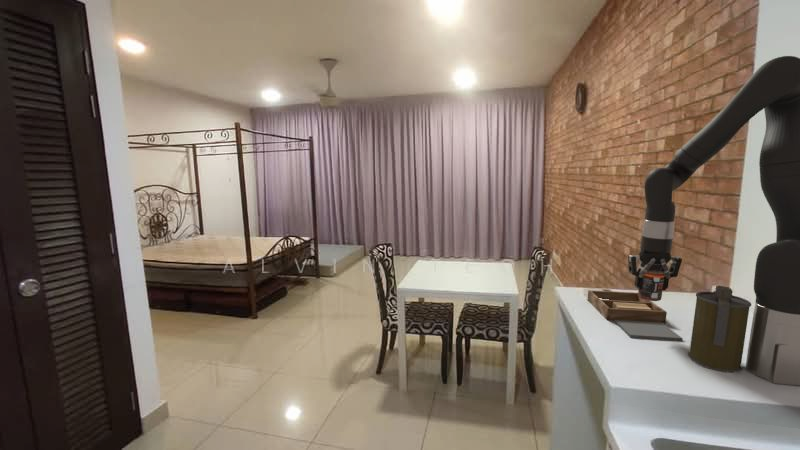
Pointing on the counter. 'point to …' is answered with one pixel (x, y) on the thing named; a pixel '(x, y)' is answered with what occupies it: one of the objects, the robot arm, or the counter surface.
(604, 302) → the walnut tray
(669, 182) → the robot arm
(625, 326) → the charcoal mat
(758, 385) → the counter surface
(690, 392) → the counter surface
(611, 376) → the counter surface
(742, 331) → the canister
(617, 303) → the upper offcut
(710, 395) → the counter surface
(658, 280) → the supplement bottle
